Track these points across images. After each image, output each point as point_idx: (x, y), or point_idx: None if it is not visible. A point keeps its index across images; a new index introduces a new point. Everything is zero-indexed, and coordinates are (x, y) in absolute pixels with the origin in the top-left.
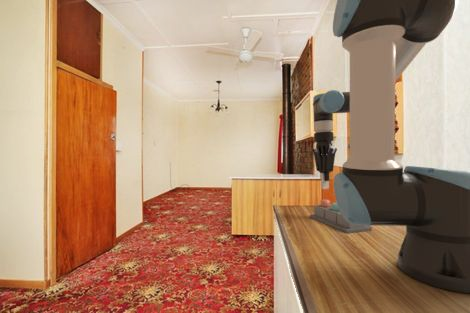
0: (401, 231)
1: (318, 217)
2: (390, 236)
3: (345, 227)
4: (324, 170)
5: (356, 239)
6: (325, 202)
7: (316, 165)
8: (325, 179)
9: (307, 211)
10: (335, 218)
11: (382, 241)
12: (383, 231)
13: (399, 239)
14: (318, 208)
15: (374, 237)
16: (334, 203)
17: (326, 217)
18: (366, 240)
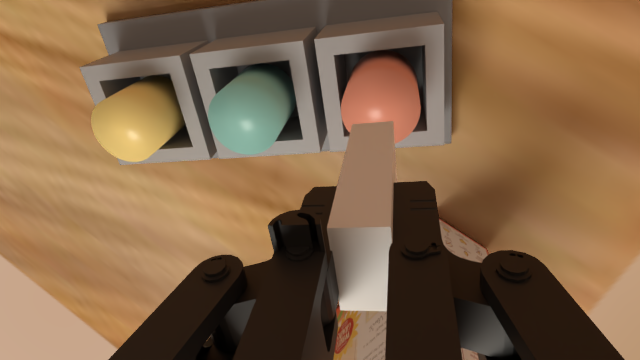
0: (143, 239)
1: (361, 2)
2: (85, 165)
3: (144, 44)
4: (281, 267)
5: (31, 10)
6: (347, 88)
7: (581, 347)
8: (319, 196)
9: (613, 39)
10: (208, 44)
11: (26, 99)
12: (141, 185)
13: (56, 169)
14: (383, 28)
15: (67, 102)
16: (247, 106)
17: (296, 30)
18: (26, 45)
